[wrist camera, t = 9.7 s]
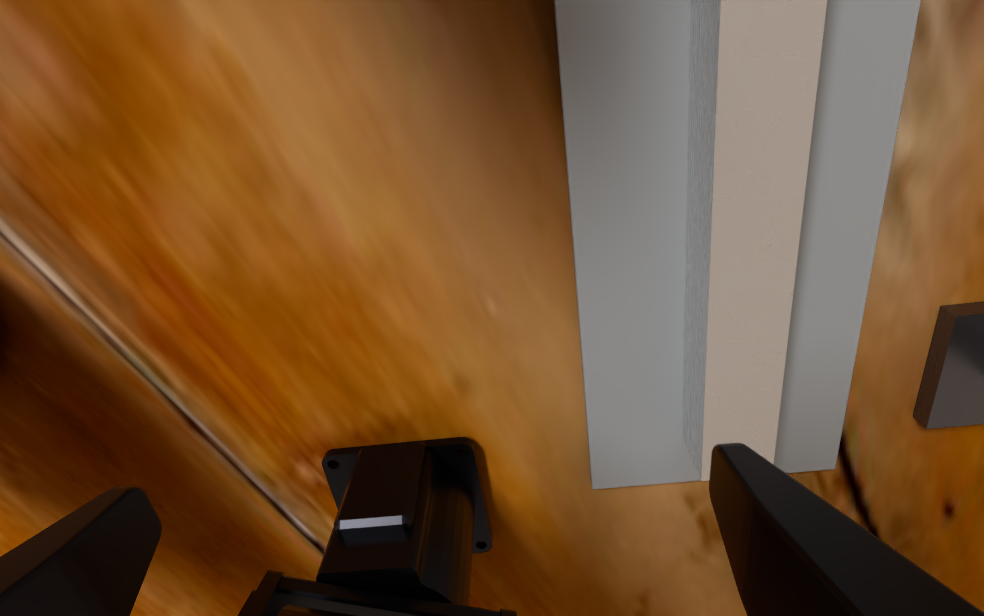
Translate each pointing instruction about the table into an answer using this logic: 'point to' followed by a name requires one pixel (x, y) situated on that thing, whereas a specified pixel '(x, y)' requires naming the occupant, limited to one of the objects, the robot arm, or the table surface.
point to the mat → (662, 224)
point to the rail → (744, 212)
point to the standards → (954, 370)
